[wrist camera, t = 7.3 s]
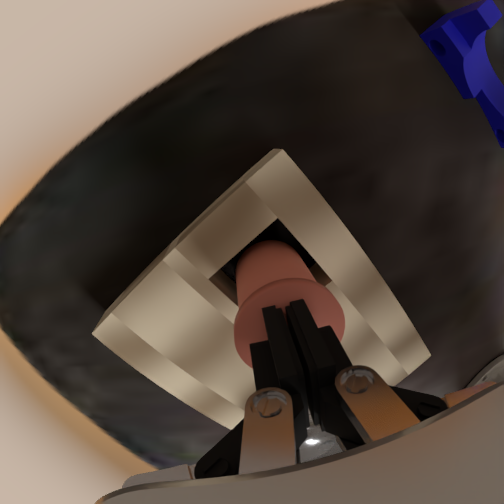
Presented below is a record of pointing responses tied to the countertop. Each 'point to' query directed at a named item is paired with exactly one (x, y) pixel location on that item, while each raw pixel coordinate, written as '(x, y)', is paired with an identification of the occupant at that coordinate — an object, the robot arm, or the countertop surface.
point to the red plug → (277, 293)
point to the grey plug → (315, 442)
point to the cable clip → (470, 57)
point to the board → (226, 300)
